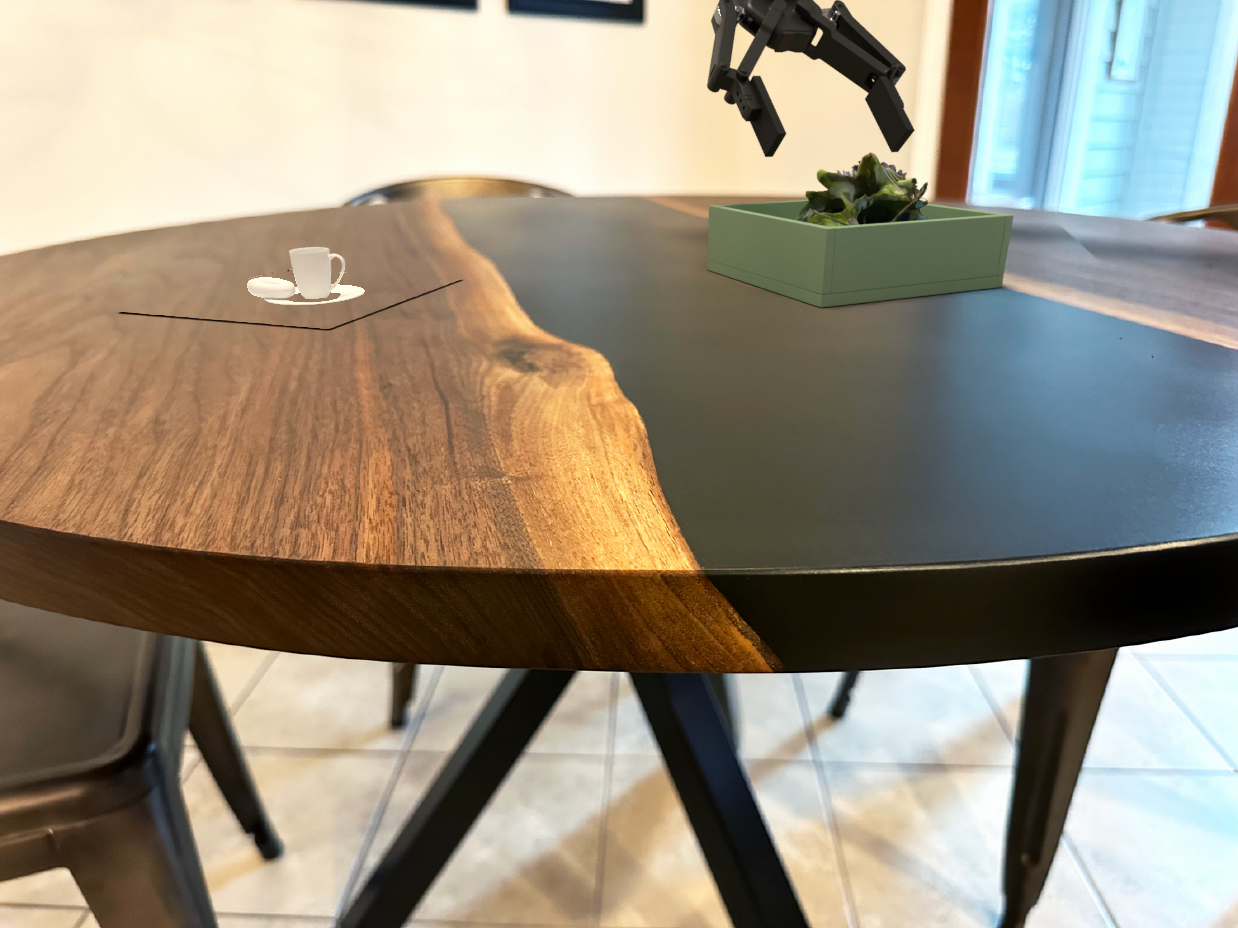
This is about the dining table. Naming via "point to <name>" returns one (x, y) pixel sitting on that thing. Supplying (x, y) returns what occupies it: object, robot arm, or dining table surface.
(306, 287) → the teacup and saucer
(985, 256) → the green open box
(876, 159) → the green leafy lump
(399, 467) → the dining table surface
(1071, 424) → the dining table surface
